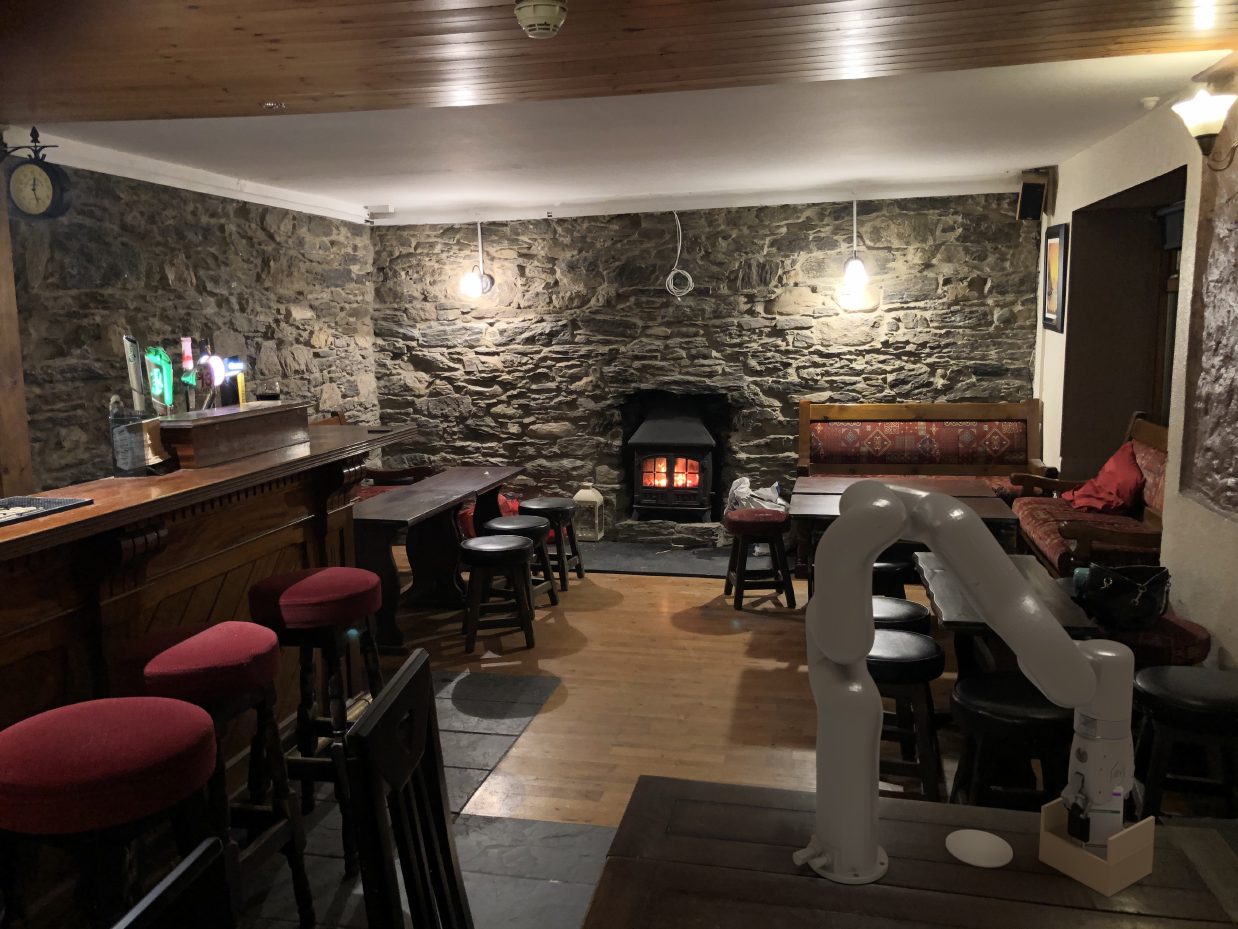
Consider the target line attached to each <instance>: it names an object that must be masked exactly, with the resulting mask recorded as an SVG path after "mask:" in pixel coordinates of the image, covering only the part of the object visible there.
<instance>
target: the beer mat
mask: <svg viewBox="0 0 1238 929" xmlns="http://www.w3.org/2000/svg"><path fill="white" fill-rule="evenodd" d="M945 847H946V850H947V851H948V852H949V853H950V855H951V856H953V857H954V858H956V859H957V860H959V861H960V862H963V863H966V865H967V864H968V865H970V866H974V867H980V868H985V869H986V868H989V869H991V868H992V869H993V868H1001V867H1005V866H1006V865H1007V864H1009V863H1010V862H1011V861H1012V860H1013V857H1014V856H1013V854H1014V852H1013V849H1012V847H1011V846H1010V844H1009V843H1008V842H1007V841H1006V840H1004V839H1002V837H999V836H997V835H995V834H993V833H990V832H987V831H983V830H977V829H960V830H955V831H953V832H951V833H949V834H948V835H947V837H946V838H945Z"/></svg>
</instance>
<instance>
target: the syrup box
mask: <svg viewBox="0 0 1238 929" xmlns="http://www.w3.org/2000/svg"><path fill="white" fill-rule="evenodd" d="M1080 794H1082V795H1085V796H1087V795H1086V792H1085V789H1084V785H1083V786H1082V788H1081V789H1080ZM1123 797H1124V790H1123V788H1122V787H1121V786H1116V787H1115V788H1114V790H1113V798H1112V801H1109V802H1107V803H1105V804H1103V805H1099V806H1097V805H1094V804H1093V805H1092V807H1091V809H1090V811H1089V814H1088V816H1087V817H1089V818H1090V836H1089V842H1087V843H1084V842H1082V841H1080V840H1078V839H1076V838H1074V837H1071V838H1072V839H1071V844H1073V845H1075V846H1077V847H1079V848H1081V849H1083V850H1085V851H1087V852H1089V853H1091V854H1093V855H1095V856H1097V857H1099V858H1101V859H1103V860H1105V861H1107V847H1108V838H1110V837H1112V836H1114V835H1116V834H1118V833H1119V832H1121V831H1122V827H1123V828H1124V826H1123V825H1124V824H1123ZM1077 803H1078V804H1079V806H1080V807H1081V808H1083V805H1084V803H1085V800H1082V799H1080V798H1078V801H1077Z"/></svg>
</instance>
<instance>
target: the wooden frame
mask: <svg viewBox="0 0 1238 929" xmlns="http://www.w3.org/2000/svg"><path fill="white" fill-rule="evenodd" d="M1040 807H1041V809H1040V810H1041V813H1040V829H1039V830H1040V831H1039V848H1038V849H1039V851H1038V853H1039V854H1038V860H1039V861H1041V862H1043V863H1045V864H1047V865H1048V866H1050V867H1052V868H1054V869H1055V870H1057V871H1059V872H1060V873H1063V874H1064V875H1067V876H1068V877H1071V878H1072V879H1073V880H1075V881H1077V882H1079V883H1081V884H1083V885H1085V886H1087V887H1089V888H1091V889H1093V890H1094V891H1096V892H1097V893H1099V894H1102V895H1103V896H1105V897H1107V898H1110V897H1113V896H1114V895H1115V894H1118V892H1120V891H1122V890H1124V889H1126V888H1127V887H1130V886H1131V885H1132V884H1135V883H1136V882H1138V881H1139V880H1141V879H1142V878H1145V877H1147V876H1148V875H1150V874H1152V873H1153V863H1154V862H1153V859H1154V847H1155V846H1154V844H1155V842H1154V838H1155V837H1154V836H1155V825H1156V824H1155V823H1156V817H1155V816H1153V815H1150V816H1148V817H1147V818H1145V819H1143V820H1141V821H1139V822H1137V823H1135V824H1133V825H1131V826H1129V827H1128V828H1125V827H1124V826H1123V827H1122V831H1121V832H1119V833H1118V834H1116V835H1114V836H1112V837H1110V838H1108V847H1107V861H1105V860H1103V859H1101V858H1099V857H1097V856H1095V855H1093V854H1091V853H1089V852H1087V851H1085V850H1083V849H1081V848H1079V847H1077V846H1075V845H1073V844H1071V839H1072V838H1071V837H1072V836H1070V835H1069V834H1068V833H1067V825H1068V811H1066V808H1065V806H1064V802H1063V800H1062V797H1061V796H1060V797H1058V798H1056V799H1054V800H1052V801H1050V802H1048V803H1046V804H1044V805H1041V806H1040Z"/></svg>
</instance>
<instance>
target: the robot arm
mask: <svg viewBox="0 0 1238 929" xmlns="http://www.w3.org/2000/svg"><path fill="white" fill-rule="evenodd" d="M838 512H839V516H838V517H836V518H835V520H834V521H833V522H832V523H830V525H829V526H828V527H827V529H826V530H825V531H824V533H823V535H822V536H821V537H820V539H819V542H818V545H817V546H816V549H815V550H816V551H815V554H814V562H813V563H814V564H813V565H814V566H813V570H814V573H813V574H814V577H813V578H814V581H813V582H814V585H813V586H814V593H813V595H812V597H811V598H810V599H809V602H808V604H807V607H806V609H805V638H806V639H805V640H806V657H807V658H806V659H807V671H808V673H807V674H808V681H809V685H810V686H809V687H810V688H811V691H812V694H813V699H814V702H815V705H816V710H817V711H816V712H817V727H816V728H817V729H816V741H815V742H816V744H815V746H816V747H815V770H816V771H815V772H816V773H815V776H816V778H815V780H816V782H815V783H816V784H815V788H816V789H815V790H816V792H815V800H816V801H815V833H814V834H811V837H810V841H809V843H808V844H807V846H806V848H802V849H800V850H797V851H795V852H793V854H792V859H793V862H794V864H796V865H797V866H802V865H803V864H805V863H807V864H808V865H809V867H810V868H811V869H812V870H813V871H814V872H816V874H818V875H820V876H822V877H823V878H825V879H827V880H831V881H834V882H838V883H840V884H841V883H842V884H847V885H862V884H868V883H872V882H876V881H877V880H879V879H880V878H882V877H883V876H885V875H886V873H887V872H888V868H889V857H888V854H887V851H886V850H885V849H884V848H883V847H882V846H881V845H880V844H879V816H880V815H879V808H880V803H879V802H880V799H879V798H880V794H879V793H880V745H881V738H882V737H881V736H882V729H883V723H884V722H883V721H884V706H883V702H882V697H881V694H880V692H879V689H878V686H877V685H876V683H875V681H874V679H873V677H872V675H871V674H870V672H869V670H868V665H867V657H868V656H869V655H870V653H871V651H872V649H873V647H874V643H875V638H876V628H875V618H874V605H873V604H874V603H873V602H874V600H873V569H874V565H875V563H876V560H877V559H878V558H879V556H880V555H881V554H882V553H883V552H884V551H885V550H886V549H887V548H889V547H891V546H892V545H893V544H895V543H896V542H897V541H899V539H900V540H905V541H911V542H919V543H923V544H925V546H927V547H928V550H930V551H931V552H932V554H933V555H934V556H935V558H936V559H937V561H938V562H939V563H940V565H941V566H942V567H943V569H944V570H945V571H946V573H947V574H948V576H949V577H950V578H951V579H952V581H953V582H954V584H955V585H956V586H957V588H958V589H959V591H960V592H961V593H962V595H963V596H964V597H965V599H966V600H967V602H968V603H969V604H970V606H971V607H972V608H973V609H974V611H975V612H976V613H977V614H978V615H979V617H980V618H981V619H982V621H984V622H985V623H986V624H987V625H988V627H989V628H991V629H992V630H993V631H994V632H995V633H996V634H997V635H998V636H999V637H1000V638H1001V639H1002V640H1003V641H1004V642H1005V644H1006V645H1007V646H1008V647H1009V648H1010V649H1011V651H1013V653H1014V654H1015V655H1016V660H1017V664H1018V667H1019V669H1020V670H1021V672H1022V673H1023V674H1024V676H1025V677H1026V678H1027V679H1028V680H1029V681H1030V682H1031V684H1033V685H1034V686H1035V687H1037V689H1038V690H1039V691H1040V693H1042V694H1043V695H1044V696H1045V697H1046V699H1047V700H1049V701H1050V702H1051V703H1053V704H1054V705H1057V706H1059V707H1062V708H1065V709H1074V716H1073V729H1074V731H1075V732H1074V733H1073V739H1072V743H1071V750H1070V756H1069V764H1068V779H1067V780H1068V784H1067V785H1066V786H1065V787H1064V788H1063V790H1062V791H1061V792H1060V798H1061V797H1062V800H1063V802H1064V806H1065V808H1066V811H1068V825H1067V833H1068V834H1069V835H1070V836H1072V837H1074V838H1076V839H1078V840H1080V841H1082V842H1084V843H1087V842H1089V836H1090V818H1089V817H1087V816H1088V814H1089V811H1090V809H1091V807H1092V805H1093V804H1094V805H1097V806H1099V805H1103V804H1105V803H1107V802H1109V801H1112V798H1113V790H1114V788H1115V787H1116V786H1121V787H1122V788H1123V790H1124V797H1123V825H1125V824H1126V820H1127V807H1128V806H1127V804H1128V803H1127V802H1128V800H1127V799H1128V798H1129V797H1130V791H1131V790H1132V789H1133V788H1134V783H1135V782H1134V781H1135V780H1134V778H1135V776H1134V775H1135V774H1134V773H1135V769H1136V766H1135V756H1134V742H1133V736H1132V731H1131V728H1132V727H1131V726H1132V725H1131V724H1132V710H1133V709H1132V708H1133V692H1134V691H1133V689H1134V677H1135V676H1134V674H1135V655H1134V652H1133V651H1132V649H1131V648H1130V647H1129V646H1128V645H1125V644H1123V643H1121V642H1118V641H1116V640H1115V641H1114V640H1109V639H1102V638H1100V639H1089V640H1076V639H1072V638H1071V636H1070V635H1069V634H1068V632H1067V631H1066V629H1064V627H1063V626H1062V624H1060V622H1059V621H1058V620H1057V618H1056V617H1055V616H1054V614H1052V612H1051V611H1050V610H1049V609H1048V608H1047V607H1046V605H1045V603H1044V602H1043V601H1042V599H1041V597H1040V596H1039V595H1038V594H1037V592H1036V591H1035V590H1034V588H1033V587H1032V586H1031V585H1030V583H1029V582H1028V581H1027V580H1026V578H1025V577H1024V575H1022V572H1020V570H1019V569H1018V568H1017V566H1016V565H1015V563H1014V562H1013V561H1012V560H1011V558H1010V557H1009V556H1008V554H1007V553H1006V551H1005V550H1004V549H1003V547H1002V546H1001V544H1000V543H999V542H998V540H997V539H996V538H995V536H994V535H993V533H992V532H991V530H989V528H988V527H987V525H986V524H985V522H984V521H983V519H982V518H981V517H980V516H979V515H978V514H977V513H976V512H975V511H974V509H973V508H972V507H970V506H969V505H967V504H966V503H964V502H962V501H960V500H959V499H957V498H956V497H954V496H952V495H949V494H945V493H941V492H936V491H930V490H924V489H919V488H913V487H910V486H909V487H908V486H904V485H900V484H899V485H898V484H893V483H888V482H883V481H879V480H871V479H866V480H865V479H864V480H859V481H855V482H854V483H852V484H850V485H848V486H847V487H846V488H845V489H844V491H843V492H842V494H841V496H840V498H839V501H838ZM1083 785H1084V789H1085V792H1086V795H1087V796H1085V795H1082V794H1080V789H1081V788H1082V786H1083ZM1078 798H1080V799H1082V800H1085V803H1084V805H1083V808H1081V807H1080V806H1079V804H1078V803H1077V801H1078Z"/></svg>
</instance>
